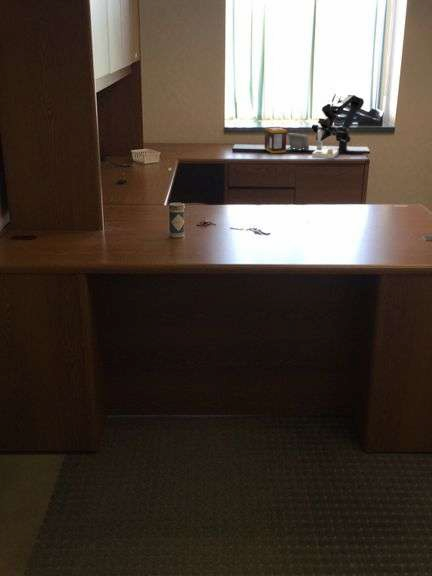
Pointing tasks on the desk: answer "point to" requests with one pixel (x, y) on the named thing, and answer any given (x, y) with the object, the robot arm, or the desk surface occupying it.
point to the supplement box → (275, 139)
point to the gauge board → (325, 153)
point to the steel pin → (319, 140)
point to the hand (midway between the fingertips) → (318, 140)
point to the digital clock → (298, 141)
